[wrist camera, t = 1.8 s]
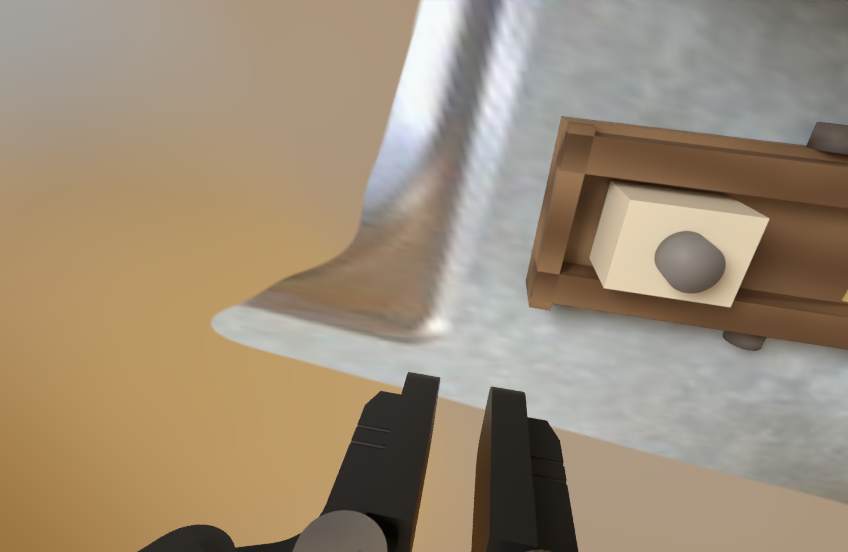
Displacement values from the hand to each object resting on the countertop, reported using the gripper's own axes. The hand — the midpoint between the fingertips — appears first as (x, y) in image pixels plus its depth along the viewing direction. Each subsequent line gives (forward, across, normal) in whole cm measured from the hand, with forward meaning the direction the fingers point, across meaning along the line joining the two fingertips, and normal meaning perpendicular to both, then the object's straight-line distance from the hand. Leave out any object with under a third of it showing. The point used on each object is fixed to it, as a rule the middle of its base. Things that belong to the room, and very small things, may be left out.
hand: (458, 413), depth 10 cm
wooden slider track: (+19, -16, 0) cm, 25 cm away
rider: (+17, -9, 0) cm, 20 cm away
